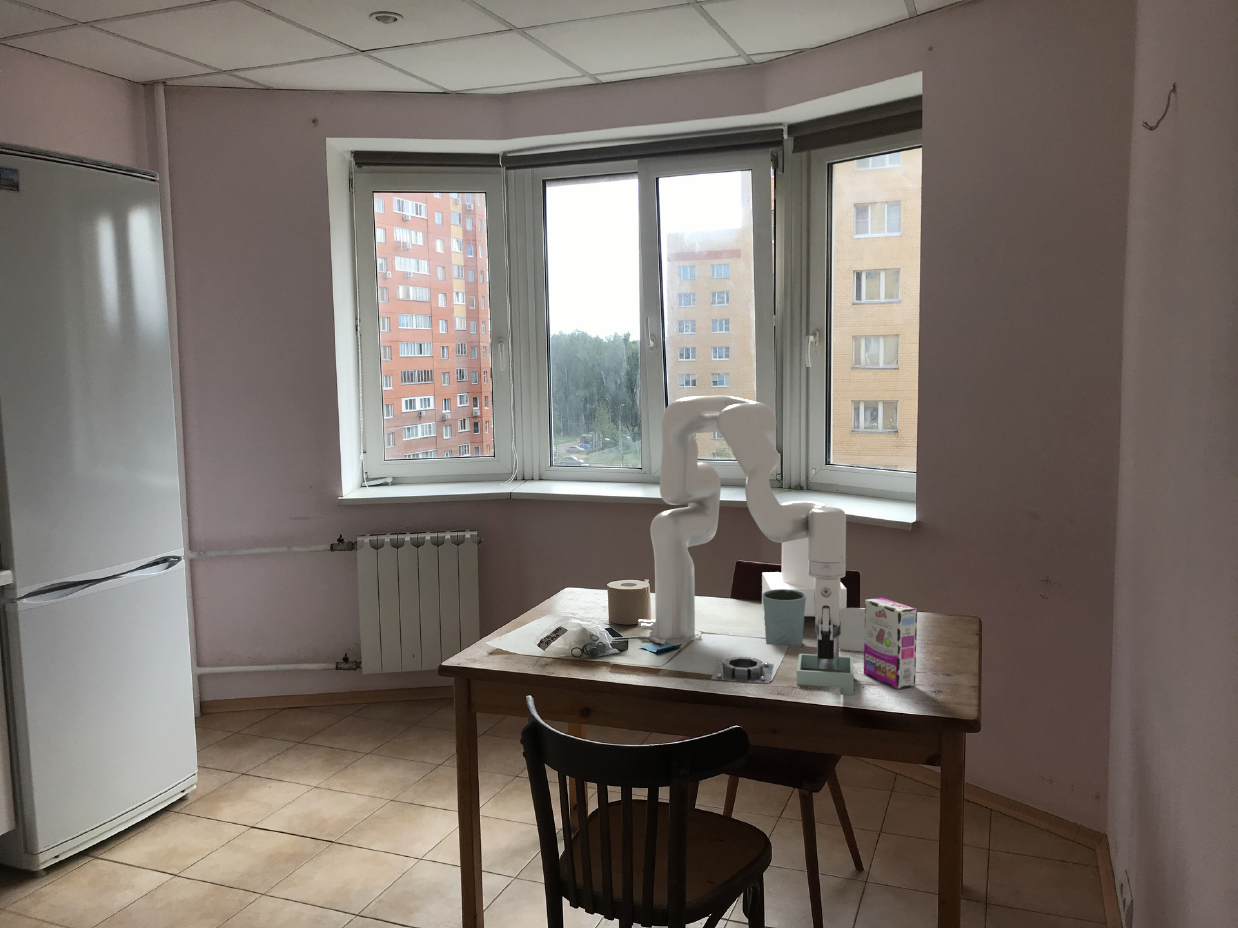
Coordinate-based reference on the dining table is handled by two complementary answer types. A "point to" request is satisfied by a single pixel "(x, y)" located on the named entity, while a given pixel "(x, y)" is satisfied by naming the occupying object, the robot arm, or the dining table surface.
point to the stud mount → (743, 670)
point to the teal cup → (784, 616)
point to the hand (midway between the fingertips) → (825, 653)
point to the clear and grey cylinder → (834, 662)
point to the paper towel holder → (796, 572)
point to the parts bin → (826, 674)
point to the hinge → (852, 629)
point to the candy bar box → (890, 642)
